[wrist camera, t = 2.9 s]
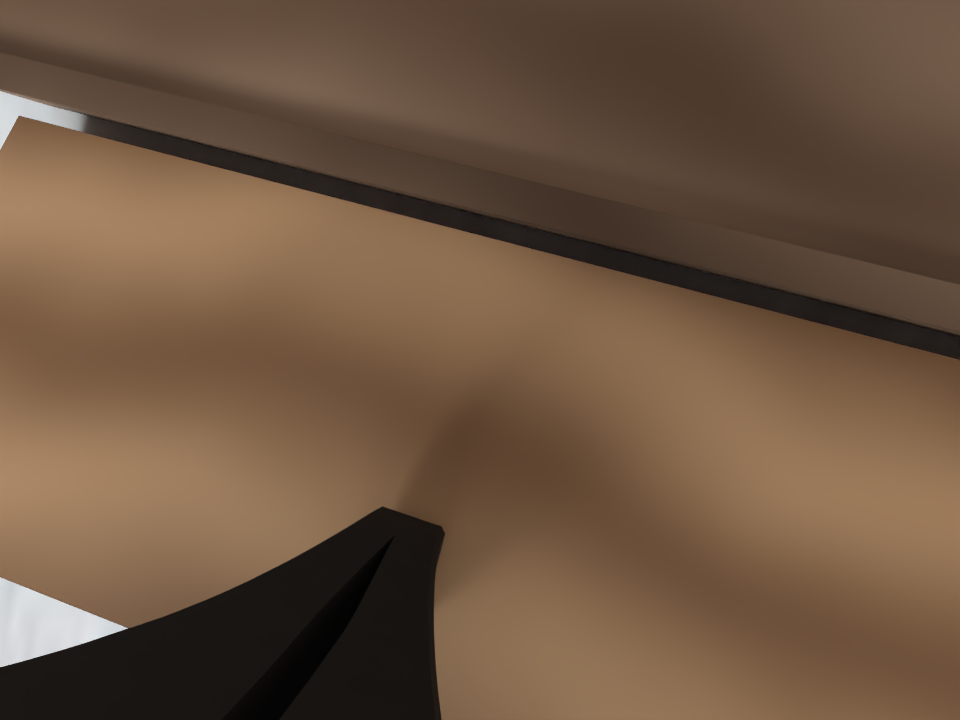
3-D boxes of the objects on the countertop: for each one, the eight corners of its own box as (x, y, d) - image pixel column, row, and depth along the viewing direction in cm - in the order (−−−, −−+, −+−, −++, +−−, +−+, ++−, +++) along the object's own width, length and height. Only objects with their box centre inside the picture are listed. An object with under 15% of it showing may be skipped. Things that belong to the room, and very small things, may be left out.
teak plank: (1017, 928, 9) (1117, 1022, 7) (-103, 495, 12) (-190, 501, 10) (1064, 416, 11) (1154, 409, 9) (72, 152, 14) (18, 115, 12)
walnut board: (1136, 382, 10) (1277, 411, 8) (47, 105, 14) (-44, 77, 12) (1326, 82, 9) (1553, 30, 7) (52, -147, 12) (-52, -228, 10)
